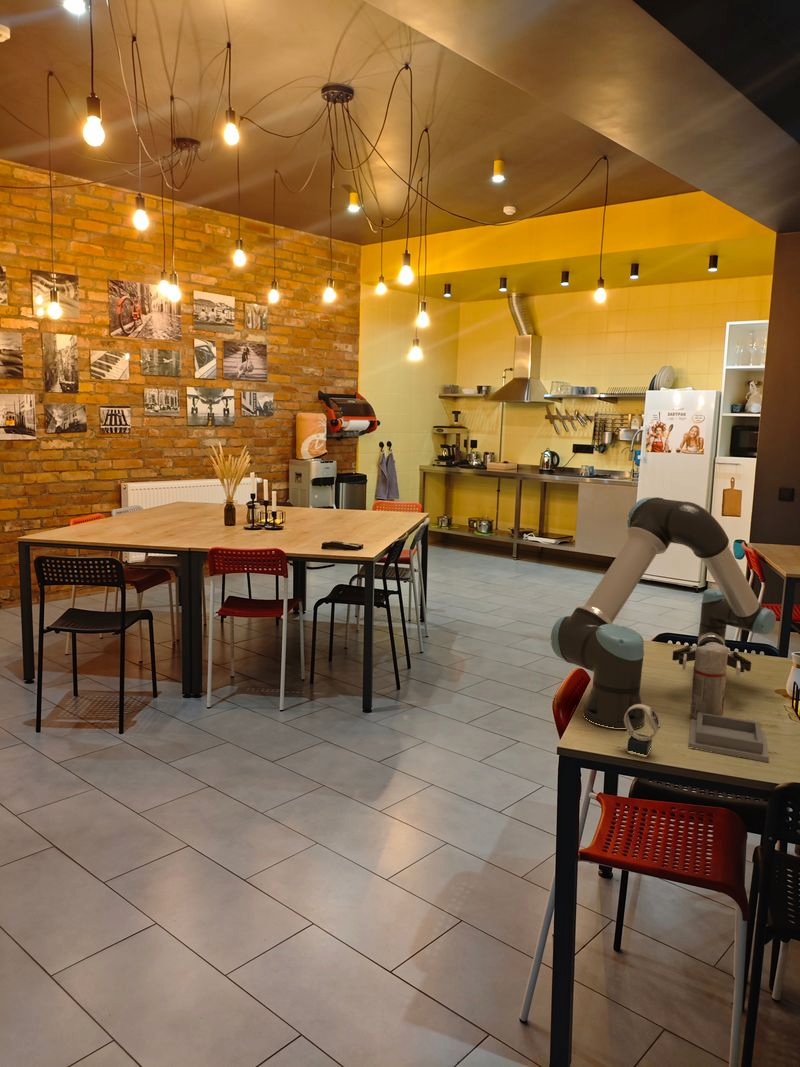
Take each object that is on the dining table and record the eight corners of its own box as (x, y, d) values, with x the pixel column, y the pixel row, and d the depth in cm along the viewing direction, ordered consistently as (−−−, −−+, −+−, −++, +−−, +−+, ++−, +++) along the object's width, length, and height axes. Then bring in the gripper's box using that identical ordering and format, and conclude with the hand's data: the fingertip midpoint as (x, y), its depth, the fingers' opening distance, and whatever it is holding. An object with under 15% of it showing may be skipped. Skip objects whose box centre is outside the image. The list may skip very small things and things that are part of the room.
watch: (655, 760, 177) (659, 713, 175) (619, 751, 180) (623, 706, 179) (659, 751, 182) (664, 705, 180) (624, 743, 185) (628, 698, 184)
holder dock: (688, 748, 184) (690, 733, 183) (691, 723, 200) (692, 709, 199) (768, 762, 178) (770, 746, 177) (764, 735, 193) (765, 721, 193)
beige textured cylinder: (717, 727, 198) (725, 650, 195) (684, 719, 203) (692, 644, 200) (726, 718, 204) (734, 644, 201) (694, 710, 209) (702, 637, 206)
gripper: (756, 667, 226) (760, 689, 206) (665, 654, 235) (661, 674, 215) (759, 642, 225) (763, 662, 205) (667, 630, 234) (663, 648, 214)
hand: (711, 668), depth 210 cm, fingers open, 13 cm apart
